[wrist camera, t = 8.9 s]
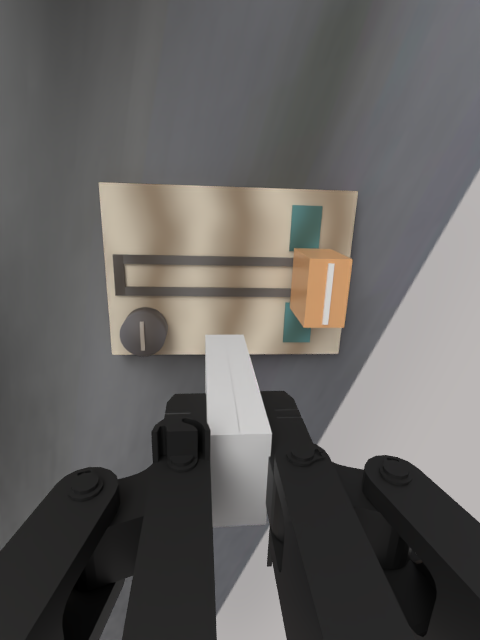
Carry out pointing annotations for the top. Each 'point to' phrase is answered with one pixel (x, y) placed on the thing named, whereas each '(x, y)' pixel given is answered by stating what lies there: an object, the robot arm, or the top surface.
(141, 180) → the top surface
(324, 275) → the fader knob
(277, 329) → the console
